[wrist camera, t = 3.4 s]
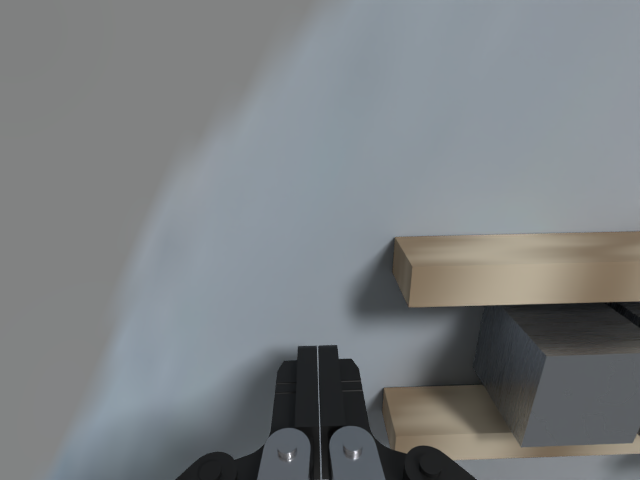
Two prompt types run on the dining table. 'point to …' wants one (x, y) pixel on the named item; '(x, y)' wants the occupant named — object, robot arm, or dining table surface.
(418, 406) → the slotted rail
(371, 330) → the dining table surface
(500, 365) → the dark gray rectangular block
